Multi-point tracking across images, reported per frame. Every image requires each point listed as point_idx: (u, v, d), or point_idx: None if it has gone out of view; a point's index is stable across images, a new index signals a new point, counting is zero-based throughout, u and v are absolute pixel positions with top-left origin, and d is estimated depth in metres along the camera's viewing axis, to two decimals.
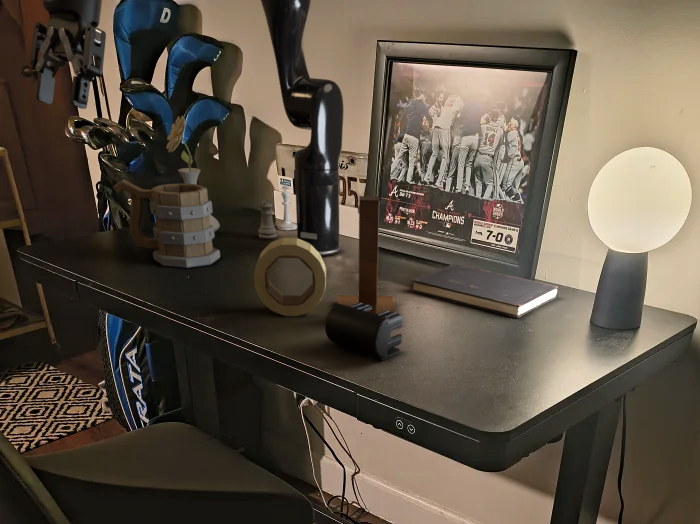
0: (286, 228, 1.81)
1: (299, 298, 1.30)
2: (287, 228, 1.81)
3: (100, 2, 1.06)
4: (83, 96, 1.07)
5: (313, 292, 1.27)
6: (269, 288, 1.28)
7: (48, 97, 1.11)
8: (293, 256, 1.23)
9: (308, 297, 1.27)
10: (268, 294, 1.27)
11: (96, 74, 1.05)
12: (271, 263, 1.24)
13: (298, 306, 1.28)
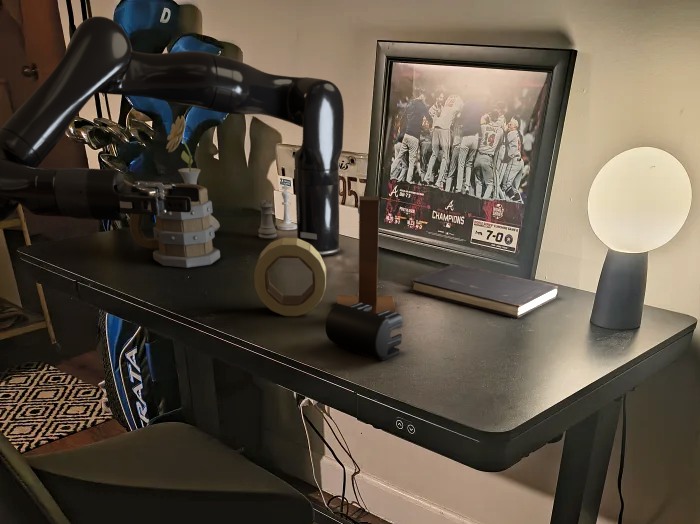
0: (286, 228, 1.81)
1: (299, 298, 1.30)
2: (287, 228, 1.81)
3: (95, 181, 1.15)
4: (180, 204, 1.15)
5: (313, 292, 1.27)
6: (269, 288, 1.28)
7: (193, 192, 1.23)
8: (293, 256, 1.23)
9: (308, 297, 1.27)
10: (268, 294, 1.27)
11: (157, 203, 1.13)
12: (271, 263, 1.24)
13: (298, 306, 1.28)
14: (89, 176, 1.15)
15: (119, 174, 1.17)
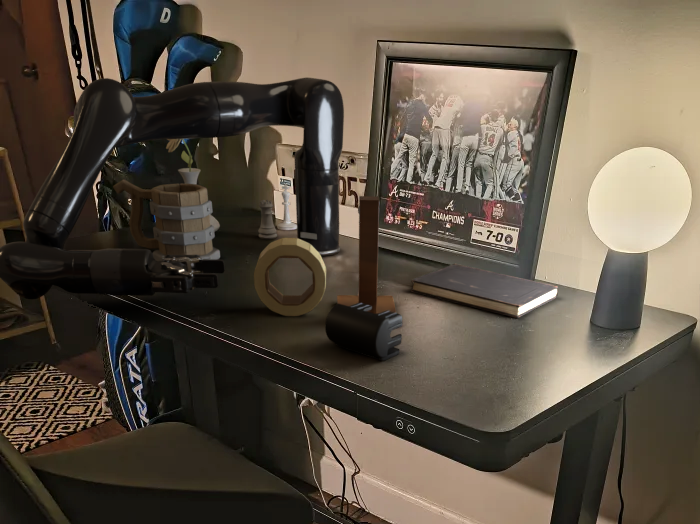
0: (286, 228, 1.81)
1: (299, 298, 1.30)
2: (287, 228, 1.81)
3: (128, 262, 1.22)
4: (207, 280, 1.22)
5: (313, 292, 1.27)
6: (269, 288, 1.28)
7: (218, 264, 1.29)
8: (293, 256, 1.23)
9: (308, 297, 1.27)
10: (268, 294, 1.27)
11: (186, 282, 1.20)
12: (271, 263, 1.24)
13: (298, 306, 1.28)
14: (122, 257, 1.22)
15: (149, 253, 1.24)
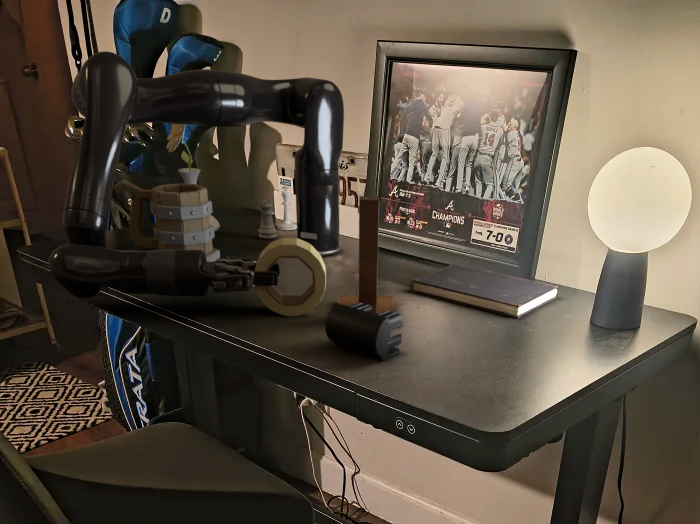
0: (286, 228, 1.81)
1: (299, 298, 1.30)
2: (287, 228, 1.81)
3: (182, 263, 1.22)
4: (268, 278, 1.24)
5: (313, 292, 1.27)
6: (269, 288, 1.28)
7: (274, 268, 1.29)
8: (293, 256, 1.23)
9: (308, 297, 1.27)
10: (268, 294, 1.26)
11: (248, 280, 1.22)
12: (271, 263, 1.24)
13: (298, 306, 1.28)
14: (176, 258, 1.22)
15: (203, 254, 1.25)
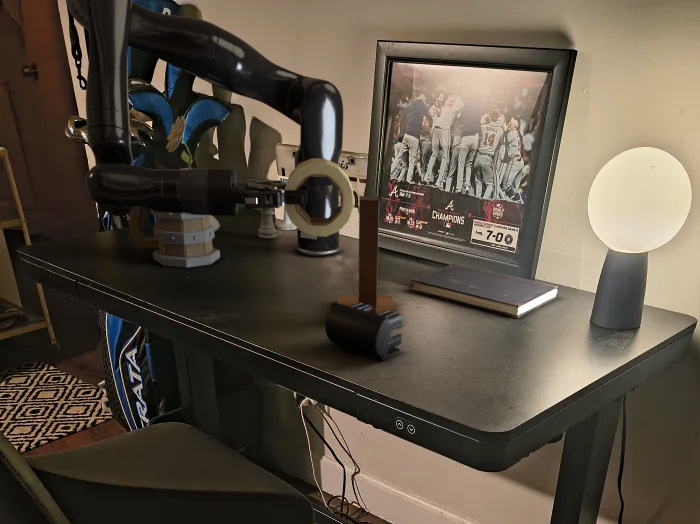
0: (286, 228, 1.81)
1: (326, 220, 1.34)
2: (287, 228, 1.81)
3: (215, 180, 1.26)
4: (297, 197, 1.28)
5: (341, 212, 1.30)
6: (298, 208, 1.31)
7: (302, 189, 1.32)
8: (322, 175, 1.27)
9: (336, 217, 1.31)
10: (297, 213, 1.30)
11: (278, 197, 1.26)
12: (301, 181, 1.27)
13: (326, 226, 1.31)
14: (209, 175, 1.26)
15: (234, 173, 1.28)
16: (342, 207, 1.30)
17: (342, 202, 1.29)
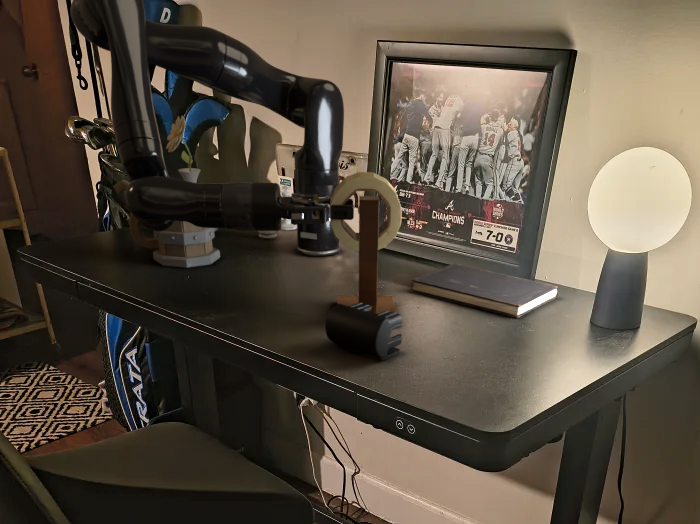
0: (286, 228, 1.81)
1: None
2: (287, 228, 1.81)
3: (259, 195, 1.21)
4: (344, 212, 1.23)
5: (388, 227, 1.26)
6: (343, 223, 1.26)
7: (348, 204, 1.28)
8: (370, 189, 1.22)
9: (383, 233, 1.26)
10: (343, 229, 1.25)
11: (325, 212, 1.21)
12: (348, 196, 1.23)
13: None
14: (253, 190, 1.21)
15: (279, 187, 1.24)
16: (390, 222, 1.25)
17: (390, 217, 1.25)
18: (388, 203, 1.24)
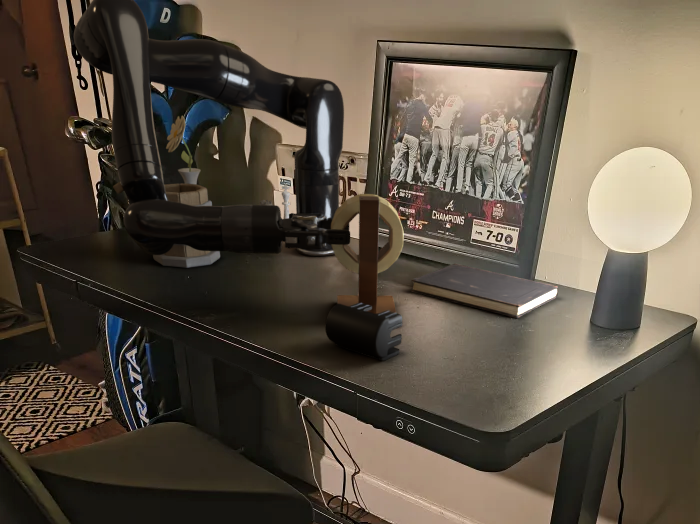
0: None
1: None
2: None
3: (259, 218, 1.20)
4: (340, 237, 1.20)
5: (390, 250, 1.24)
6: (345, 246, 1.25)
7: None
8: None
9: (385, 255, 1.25)
10: (344, 251, 1.24)
11: (321, 237, 1.18)
12: (349, 219, 1.21)
13: None
14: (254, 213, 1.20)
15: (279, 209, 1.22)
16: (392, 245, 1.24)
17: (392, 239, 1.23)
18: (390, 225, 1.22)
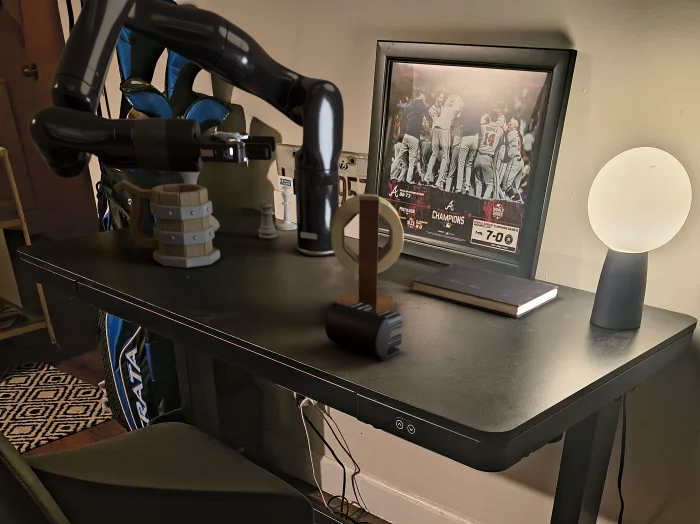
0: (286, 228, 1.81)
1: None
2: (287, 228, 1.81)
3: (174, 130, 1.12)
4: (261, 151, 1.12)
5: (390, 249, 1.24)
6: (345, 246, 1.25)
7: (269, 142, 1.20)
8: None
9: (385, 255, 1.25)
10: (344, 251, 1.24)
11: (238, 150, 1.10)
12: (349, 219, 1.21)
13: None
14: (168, 125, 1.12)
15: (197, 123, 1.14)
16: (392, 244, 1.24)
17: (392, 239, 1.23)
18: (390, 225, 1.22)
